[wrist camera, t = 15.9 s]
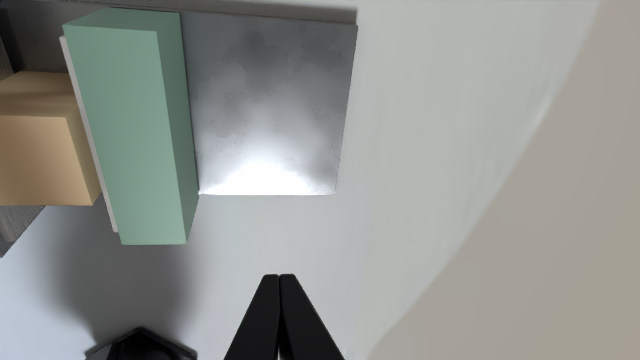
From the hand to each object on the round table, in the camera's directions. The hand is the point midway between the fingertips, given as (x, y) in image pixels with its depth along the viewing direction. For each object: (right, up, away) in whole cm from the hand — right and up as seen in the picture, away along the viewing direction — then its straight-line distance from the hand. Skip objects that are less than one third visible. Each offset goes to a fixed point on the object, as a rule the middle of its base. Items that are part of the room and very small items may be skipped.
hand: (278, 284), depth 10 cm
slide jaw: (-7, +6, +8) cm, 13 cm away
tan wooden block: (-11, +6, +8) cm, 15 cm away
